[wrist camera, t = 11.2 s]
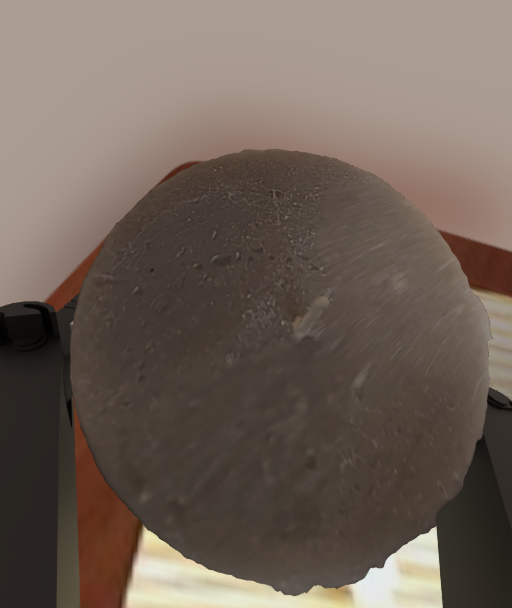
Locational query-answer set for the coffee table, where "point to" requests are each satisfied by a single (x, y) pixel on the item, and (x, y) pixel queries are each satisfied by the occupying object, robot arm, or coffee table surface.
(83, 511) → the coffee table surface
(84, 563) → the coffee table surface
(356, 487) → the pillar candle
